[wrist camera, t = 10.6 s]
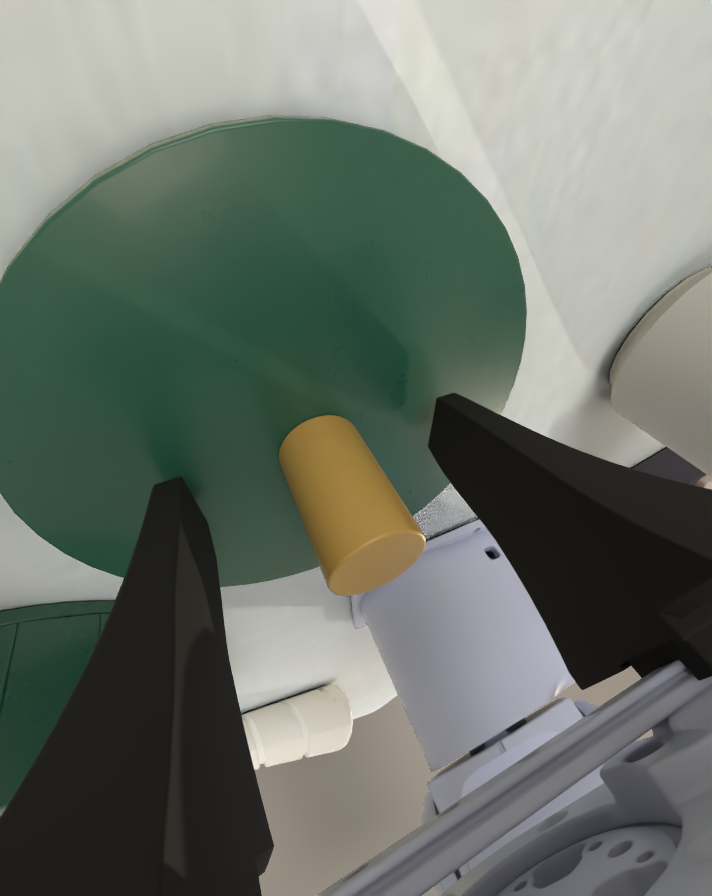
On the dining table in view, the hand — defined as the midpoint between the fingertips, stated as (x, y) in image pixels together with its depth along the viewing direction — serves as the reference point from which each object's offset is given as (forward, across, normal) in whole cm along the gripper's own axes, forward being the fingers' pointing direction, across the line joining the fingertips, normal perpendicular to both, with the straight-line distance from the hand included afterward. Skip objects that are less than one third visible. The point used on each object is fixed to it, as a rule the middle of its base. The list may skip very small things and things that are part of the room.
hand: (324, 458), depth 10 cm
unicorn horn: (+2, +11, +28) cm, 30 cm away
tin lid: (+1, 0, 0) cm, 1 cm away
